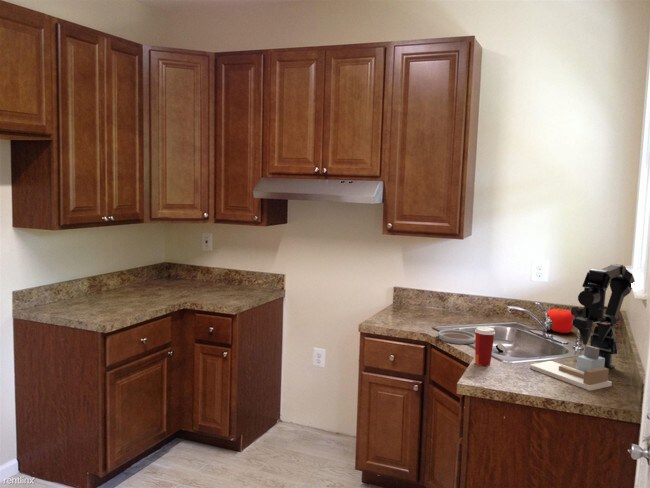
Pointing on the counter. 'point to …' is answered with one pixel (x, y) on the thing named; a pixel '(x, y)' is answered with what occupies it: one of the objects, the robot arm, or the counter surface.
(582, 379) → the mounting board
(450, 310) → the counter surface
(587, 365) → the cabinet block
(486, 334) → the paper cup
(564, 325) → the red bell pepper
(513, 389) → the counter surface
